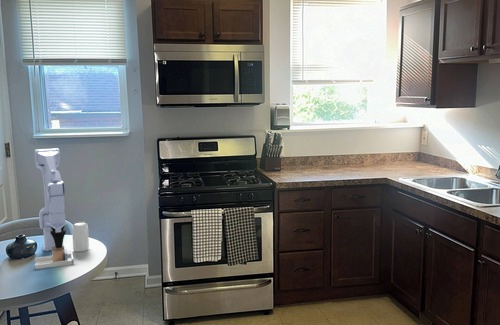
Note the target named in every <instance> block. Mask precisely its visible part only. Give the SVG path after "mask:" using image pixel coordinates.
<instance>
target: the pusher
mask: <svg viewBox="0 0 500 325" xmlns="http://www.w3.org/2000/svg"><path fill="white" fill-rule="evenodd" d="M64 252H65V260H68V253H69V252H68V249H67V248H64Z"/></svg>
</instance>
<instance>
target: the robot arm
mask: <svg viewBox="0 0 500 325" xmlns="http://www.w3.org/2000/svg"><path fill="white" fill-rule="evenodd" d="M33 153H34V154H33V155H34V161H35V162H34V164H35V167H36V169H38V170H40V171H41V174H42V175H41V176H42V184H43V195H44V207H42V208H41V209H40V210H39V213H38V221H39V222H38V223H39V227H40V229H42V230H43V251H45V252H46V251H47V252H48V251H52V247H54V246H56V248H62V246H64V239H65V235H66V232H67V230H66V229H65V230H64V228H65V226H66V224H67V221H66V212H65V211H66V210H65V209H66V207H65V197H66V187H65V186H66V185H65V183H64V181H63V180H62V176H61V173H60V171H59V170H57V168H58V167H59V166H60V161H61V152H60V149H59V148H58V147H55V148H41V149H40V148H39V149H37V148H36V149H35V150H34V152H33Z"/></svg>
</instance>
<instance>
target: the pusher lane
mask: <svg viewBox="0 0 500 325" xmlns="http://www.w3.org/2000/svg"><path fill="white" fill-rule="evenodd" d="M67 253H68V260H65V261H57V262H53V255H52V254H51V255H45V256H38V257H34V262H35V264H34V270H41V269H46V268H47V269H49V268H54V267H55V268H56V267H61V266H69V265H74V255H73V251H70V252H67Z"/></svg>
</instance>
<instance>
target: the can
mask: <svg viewBox="0 0 500 325" xmlns="http://www.w3.org/2000/svg"><path fill="white" fill-rule="evenodd" d="M88 226H89V225H88V223H87V221H75V222H73V223H72V228H71V230H72V234H71V235H72V249H73V251H74V252H76V253H83V252H86V251H88V250H90V249H89V248H90V243H89V242H90V240H89V237H90V236H89V227H88ZM82 251H83V252H82Z"/></svg>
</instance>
